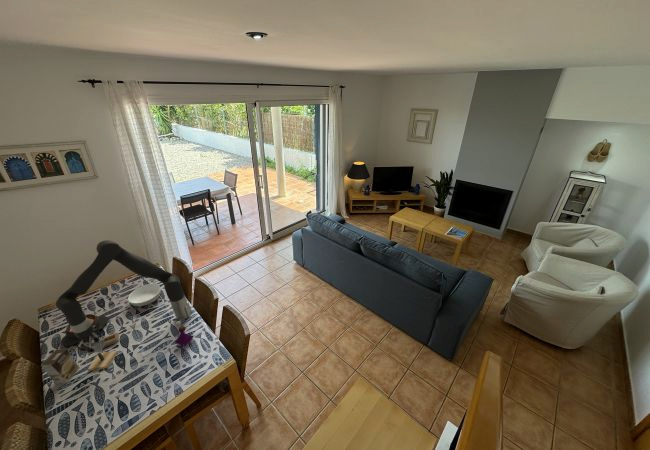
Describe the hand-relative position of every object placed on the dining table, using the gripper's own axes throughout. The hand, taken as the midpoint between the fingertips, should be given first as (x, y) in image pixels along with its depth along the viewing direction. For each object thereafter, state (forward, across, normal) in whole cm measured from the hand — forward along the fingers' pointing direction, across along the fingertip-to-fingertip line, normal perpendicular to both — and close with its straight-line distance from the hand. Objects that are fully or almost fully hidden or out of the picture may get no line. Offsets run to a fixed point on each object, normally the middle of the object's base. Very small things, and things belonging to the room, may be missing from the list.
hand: (94, 347), depth 146 cm
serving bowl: (+12, +50, -4) cm, 52 cm away
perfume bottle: (+12, +5, -44) cm, 46 cm away
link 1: (+1, 0, 0) cm, 1 cm away
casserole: (+13, +25, +23) cm, 36 cm away
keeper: (+12, 0, 0) cm, 12 cm away
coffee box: (+13, -6, +15) cm, 20 cm away
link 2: (+12, +14, +3) cm, 19 cm away
